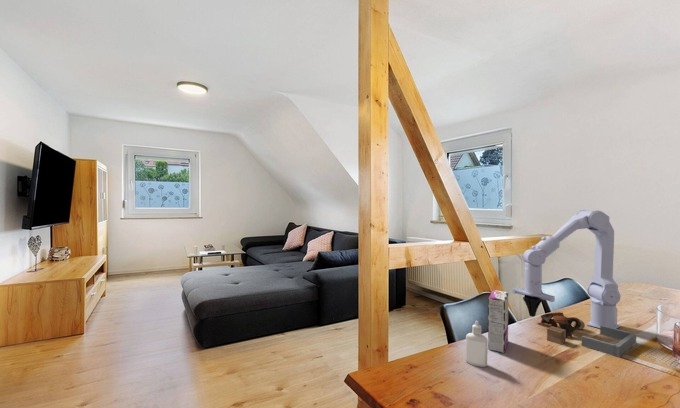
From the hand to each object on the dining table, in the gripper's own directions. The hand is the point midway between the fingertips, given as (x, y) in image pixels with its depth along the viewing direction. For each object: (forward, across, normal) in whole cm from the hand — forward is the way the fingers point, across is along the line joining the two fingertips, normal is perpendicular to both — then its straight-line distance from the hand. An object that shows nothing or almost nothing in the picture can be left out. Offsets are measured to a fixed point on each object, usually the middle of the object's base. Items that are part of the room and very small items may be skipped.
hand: (532, 315), depth 126 cm
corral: (+2, +23, 0) cm, 23 cm away
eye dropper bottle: (+3, +7, -49) cm, 50 cm away
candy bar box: (+3, +4, -32) cm, 32 cm away
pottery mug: (+3, +11, -3) cm, 11 cm away
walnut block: (+2, +13, -12) cm, 18 cm away
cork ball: (+2, +13, +7) cm, 15 cm away
